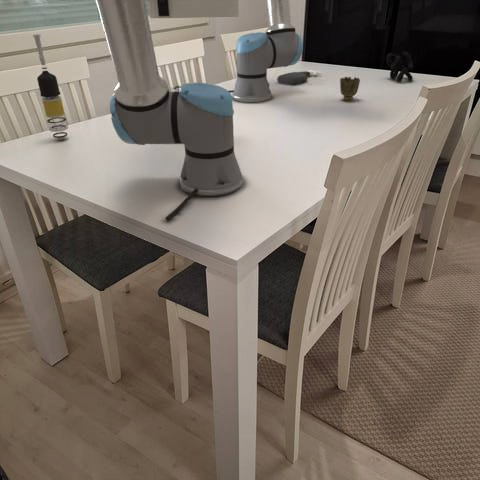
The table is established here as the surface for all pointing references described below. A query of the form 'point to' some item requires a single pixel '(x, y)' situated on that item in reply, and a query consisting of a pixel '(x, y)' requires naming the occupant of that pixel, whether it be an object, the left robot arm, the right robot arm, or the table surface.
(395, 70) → the squiggle
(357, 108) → the table surface
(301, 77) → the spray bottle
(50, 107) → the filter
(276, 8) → the right robot arm
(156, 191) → the table surface
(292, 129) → the table surface
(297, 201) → the table surface
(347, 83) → the cup
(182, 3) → the bar
